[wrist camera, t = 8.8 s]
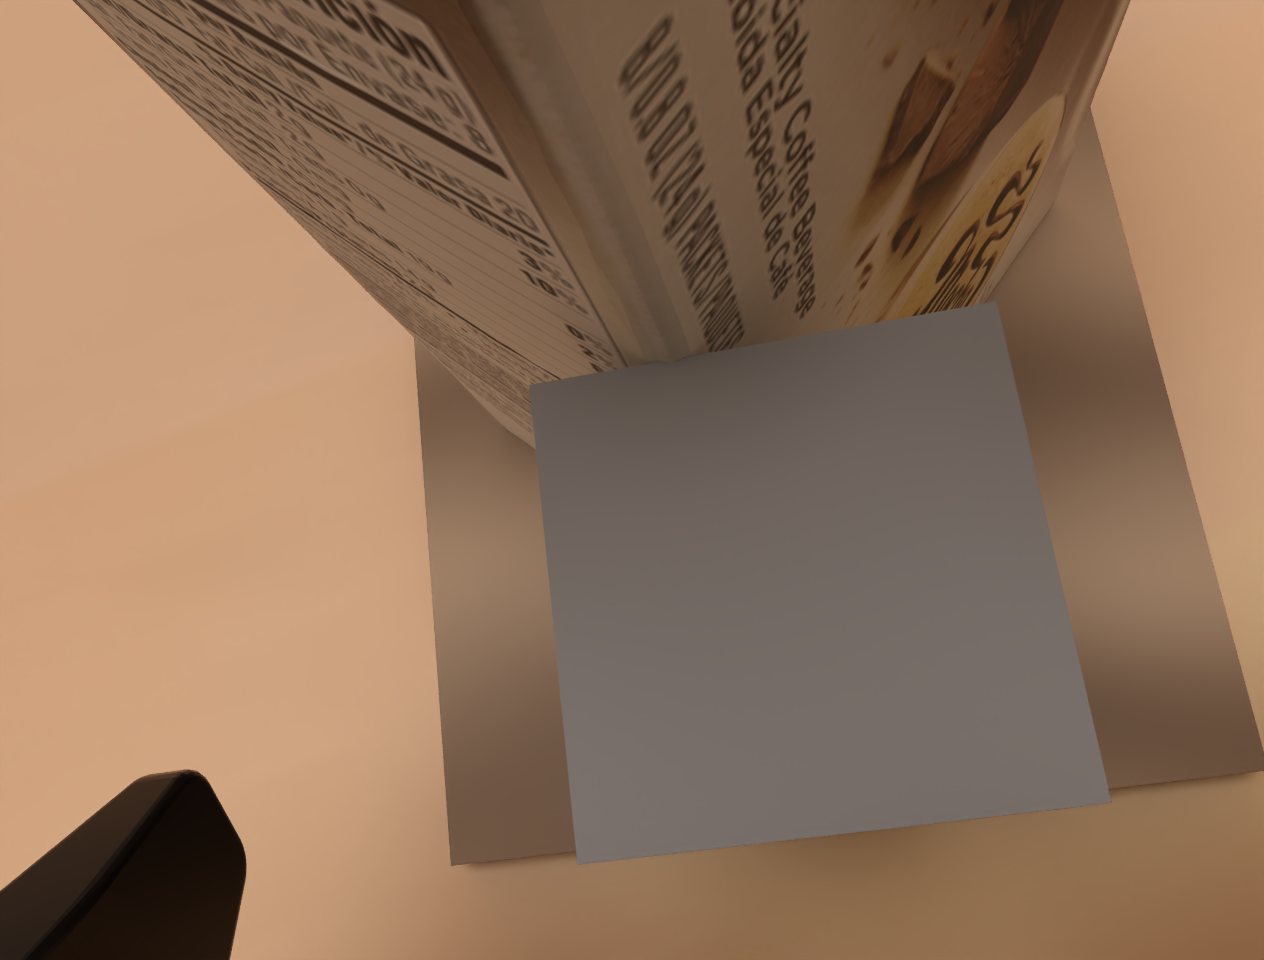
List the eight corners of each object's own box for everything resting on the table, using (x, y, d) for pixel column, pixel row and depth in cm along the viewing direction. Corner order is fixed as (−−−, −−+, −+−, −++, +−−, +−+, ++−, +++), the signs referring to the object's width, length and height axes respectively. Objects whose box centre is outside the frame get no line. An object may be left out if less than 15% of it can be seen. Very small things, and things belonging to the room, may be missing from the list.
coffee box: (763, 49, 21) (579, -1846, 6) (1065, 203, 19) (1970, -1979, 4) (484, 426, 20) (-618, -640, 5) (773, 625, 18) (465, -78, 3)
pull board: (1249, 770, 17) (2244, 787, 5) (466, 861, 19) (-182, 1036, 7) (1041, -17, 21) (1317, -1054, 9) (411, 119, 23) (-58, -597, 11)
